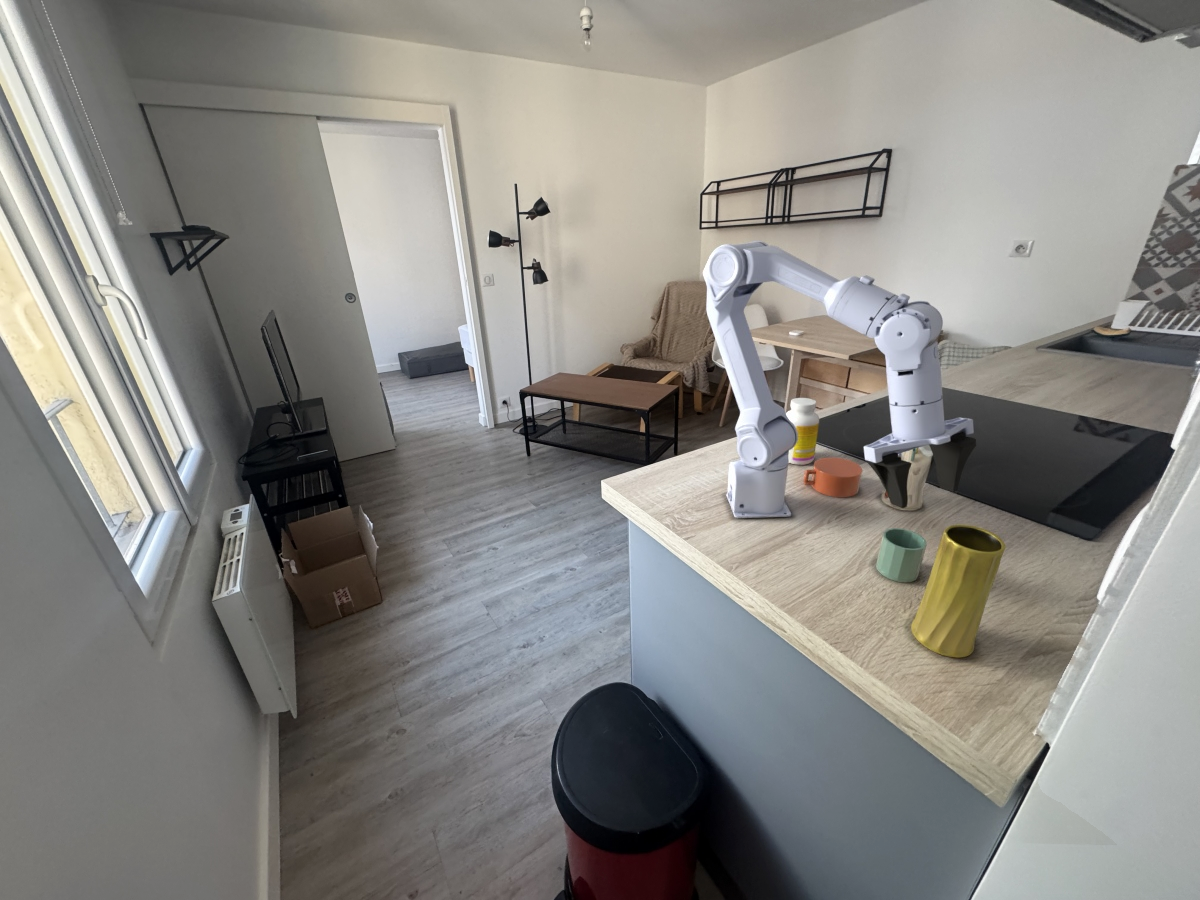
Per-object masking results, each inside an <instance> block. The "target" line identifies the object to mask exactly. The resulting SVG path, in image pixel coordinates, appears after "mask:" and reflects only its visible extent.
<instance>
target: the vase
mask: <svg viewBox="0 0 1200 900" xmlns="http://www.w3.org/2000/svg"><path fill="white" fill-rule="evenodd" d="M938 545H939V546H938V548H937V551H936V554H935V558H934V561H933V565H932V568H931V571H930V573H929V578H928V580H927V583H926V586H925V589H924V592H923V596H922V598H921V600H920V603H919V605H918V609H917V612H916V614H915V617H914V619H913V620H912V622H911V625H910V628H911V629H910V630H911V633H912V635H913V636H914V638H915V639H916V640H917V641H918V642H919V643H920V644H921V645H922V646H924V647H925V648H926V649H928V650H930V651H931V652H934V653H936V654H939V655H941V656H944V657H949V658H956V659H957V658H965V657H968V656H970V655H971V654H972V653H973V652H974V650H975V641H976V637H977V634H978V631H979V628H980V624H981V621H982V618H983V615H984V612H985V607H986V605H987V602H988V600H989V595H990V593H991V590H992V587H993V585H994V582H995V579H996V576H997V574H998V571H999V568H1000V565H1001V561H1002V558H1003V555H1004V553H1005V551H1006V543H1005V542H1004V541H1003V539H1002V538H1001V537H1000V536H999V535H997V534H995V533H994V532H992V531H990V530H987V529H985V528H983V527H980V526H975V525H971V524H951V525H948V526H947V527H946V528H945V529H944V530H943V533H942V536H941V538H940V543H939V544H938Z"/></svg>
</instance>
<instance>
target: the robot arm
mask: <svg viewBox="0 0 1200 900" xmlns="http://www.w3.org/2000/svg"><path fill="white" fill-rule="evenodd" d="M702 276H703V279H704V282H705V285H706V304H705V305H706V307H705V310H706V314H707V318H708V321H709V324H710V327H711V330H712V332H713V336H714V338H715V341H716V345H717V348H718V351H719V354H720V357H721V359H722V363H723V365H724V368H725V371H726V374H727V376H728V380H729V383H730V386H731V389H732V392H733V395H734V397H735V401H736V404H737V407H738V409H739V416H738V419H737V420H736V421H737V422H736V424H735V427H734V431H735V434H736V437H737V442H736V451H737V453H738V456H739V459H737V460H733V461H730V462H729V464H728V471H727V472H728V473H727V488H726V489H727V492H726V493H725V495H726V498H727V501H728V503H729V506H730V509H731V511H732V514H733V517H734V518H736V519H753V518H783V517H784V518H788V517H791V516H792V512H791V510H790V509H789V507H788V506H787V503H786V502H785V495H786V494H785V493H786V487H787V480H788V479H787V478H788V470H789V463H788V462H789V458H788V455H789V450H791V449H792V448H793V447H794V446H795V445H796V443H797V441H798V432H797V429H796V427H795V426H794V424H793V423H792V422H791V421H790V420H789V419H788V417H787V415H786V413H787V412H786V410H785V408H784V407H782V406H781V405H780V404H778V403H777V402H775V401H774V399H773V396H772V392H771V391H770V387H769V384H768V381H767V378H766V375H765V372H764V368H763V365H762V363H761V360H760V357H759V354H758V350H757V347H756V345H755V342H754V338H753V336H752V332H751V329H750V326H749V324H748V320H747V318H746V315H745V309H746V307H747V305H748V302H749V301H750V299H751V297H752V295H753V294H754V293H755V292H756V291H757V290H758V289H759V288H760V287H761V286H762V284H763V283H770V282H775V283H777V284H779V285H782V286H784V287H786V288H788V289H790V290H793V291H795V292H798V293H800V294H802V295H805V296H807V297H809V298H811V299H813V300H816V301H818V302H821V303H823V305H824V307H825V311H826V314H827V317H828V318H831V319H832V320H834V321H836V322H839V324H842V325H844V326H845V327H848V328H849V329H852V330H853V331H855V332H858V333H860V334H861V335H863V336H865V337H867V338H869V339H874V343H875V346H876V347H877V349H878V350H879V351H880V352H881V354H883V355H884V357H885V367H886V369H885V371H886V372H885V373H886V383H887V392H888V403H889V414H890V423H891V433H889V434H887V435H886V436H883V437H882V438H879V439H878V440H876V441H874V442H871V443H870V444H866V445H864V446H863V453H864V460H865V461H866V463H867V465H869V467H870V468H871V469H872V470H873V472H874V473H875V474H876V476H877V477H878V479H879V480H880V482H881V484H882V486H883V487H884V489H885V490H886V492H887V494H888V497H889V499H890V502H891V504H893V505H895V506H898V507H900V508H905V507H907V503H908V494H907V480H908V474H909V470H910V467H911V464H912V463H910V462H907V461H903V460H901V457H898V454H900V453H903V452H906V451H909V450H913V449H916V448H919V447H922V446H926V445H929V446H930V448H931V451H932V453H933V456H934V460H935V470H936V479H937V483H938V486H939V488H940V489H941V490H945V491H948V492H950V493H951V492H952V493H954V492H957V490H958V489H959V485H960V480H961V477H962V473H963V471H964V468H965V465H966V462H967V460H968V459H969V457H970V455H971V454H972V452H973V451H974V449H976V447H977V439H976V438H975V437H971V436H968V435H972V434H974V433H975V431H974V429H975V428H974V419H973V418H967V417H959V416H958V417H956V418H953V419H948V420H945V412H944V410H945V409H944V398H943V397H944V396H943V383H942V370H941V368H942V367H941V360H940V357H939V356H940V355H939V342H938V341H937V338H938V337H939V335H941V332H942V330H943V324H944V321H943V320H944V319H943V317H942V314H941V312H940V311H939V310H938V308H936V307H935V306H933V305H931V303H930V302H928V301H925V300H916V301H915V300H914V301H911V302H910V299H911V297H910V295H908V294H906V293H901V294H896V293H894V292H891V291H889V290H887V289H886V288H885V289H884V288H882V287H881V286H878V285H876V284H874V282H875V281H876V280H875V278H874V277H871V276H870V275H863V276H861V277H858V276H856V275H853V276H849V277H847V278H844V279H842V280H840V279H838V278H837V277H834V276H832V275H830V274H828V273H827V272H825V271H823V270H821V269H820V268H817V267H815V266H814V265H812V264H810V263H808V262H806V261H805V260H802V259H801V258H799V257H796V256H795V255H793V254H791V253H789V252H787V251H786V250H784V249H783V248H781V247H779V246H776V245H769V244H768V243H766V242H765V241H762V240H753V241H750V242H743V243H736V244H732V243H729V244H728V243H727V244H726V243H725V244H722V245H719V246H717V247H716V248H714V249H713V251H712V252H711V254H710V255H709V257H708V260H707V262H706V264H705V266H704V268H703V270H702ZM935 340H936V341H935Z"/></svg>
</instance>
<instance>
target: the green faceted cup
mask: <svg viewBox="0 0 1200 900" xmlns="http://www.w3.org/2000/svg"><path fill="white" fill-rule="evenodd" d="M927 545H928V543H927V540H926V539H925V538H924V537H923V536H922V535H921V534H919V533H917V532H916V531H913V530H911V529H906V528H900V527H892V528H887V529H886V530H884V531H883V533H882V537H881V541H880V545H879V550H878V554H877V558H876V565H875V567H876V570H877V571H878V573H879V574H880V575H882V576H883V577H884V578H887V579H888V580H891V581H893V582H897V583H913V582H915V581H916V580H917V579H918V576H919V574H920V570H921V567H922V563H923V560H924V556H925V552H926V549H927Z"/></svg>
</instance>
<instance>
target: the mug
mask: <svg viewBox="0 0 1200 900" xmlns="http://www.w3.org/2000/svg"><path fill="white" fill-rule="evenodd" d="M810 475H811V479H810V480H809V477H810ZM862 475H863V467H862V466H861V465H860V464H859V463H857V462H856V461H855V462H854V461H852V460H851V459H848V458H843V457H835V456H828V457H820V458H818V459H816V460H815V461H814V463H813V467H812V469H805V471H804V474H803V481H802V482H803V485H804V486H811V487H812V488H813V490H815V491H816V492H818V493H820V494H822V495H825V496H829V497H833V498H850V497H853V496H856V495H857V494H858V493H859V490H860V485H861V479H862Z"/></svg>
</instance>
